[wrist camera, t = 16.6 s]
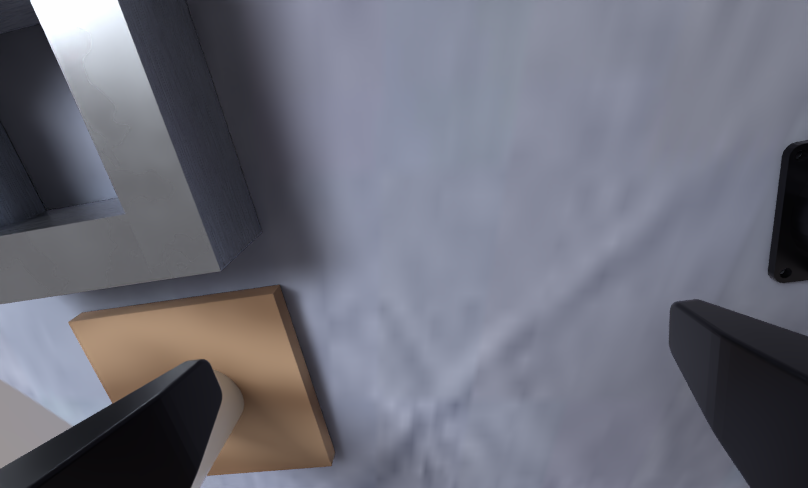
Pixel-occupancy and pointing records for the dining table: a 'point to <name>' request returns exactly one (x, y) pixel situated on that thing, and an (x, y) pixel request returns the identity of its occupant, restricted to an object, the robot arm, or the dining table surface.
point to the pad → (220, 369)
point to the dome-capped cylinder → (221, 424)
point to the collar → (127, 156)
